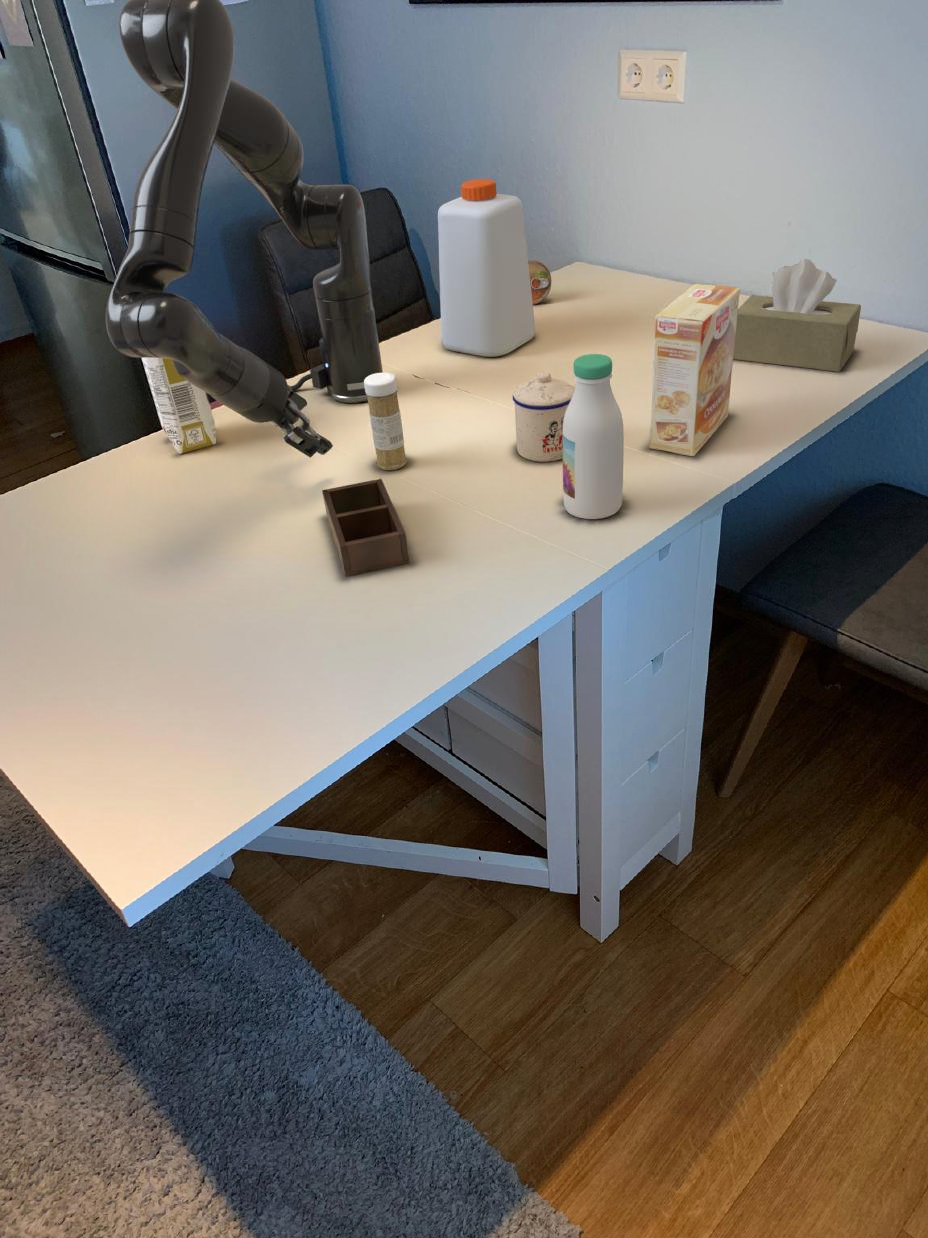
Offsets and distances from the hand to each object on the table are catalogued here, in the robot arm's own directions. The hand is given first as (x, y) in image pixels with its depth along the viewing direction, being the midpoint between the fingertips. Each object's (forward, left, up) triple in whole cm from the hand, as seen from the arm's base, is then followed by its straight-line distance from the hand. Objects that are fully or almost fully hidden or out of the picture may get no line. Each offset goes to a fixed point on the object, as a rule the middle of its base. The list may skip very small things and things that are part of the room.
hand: (314, 427), depth 134 cm
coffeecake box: (+40, +38, -7) cm, 55 cm away
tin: (-20, +75, -7) cm, 78 cm away
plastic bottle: (-11, +54, -7) cm, 55 cm away
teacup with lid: (+25, +24, -7) cm, 35 cm away
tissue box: (+40, +73, -7) cm, 83 cm away
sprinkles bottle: (+8, +7, -7) cm, 12 cm away
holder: (+20, -11, -7) cm, 24 cm away
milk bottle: (+40, +12, -7) cm, 42 cm away
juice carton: (-26, -4, -7) cm, 27 cm away
